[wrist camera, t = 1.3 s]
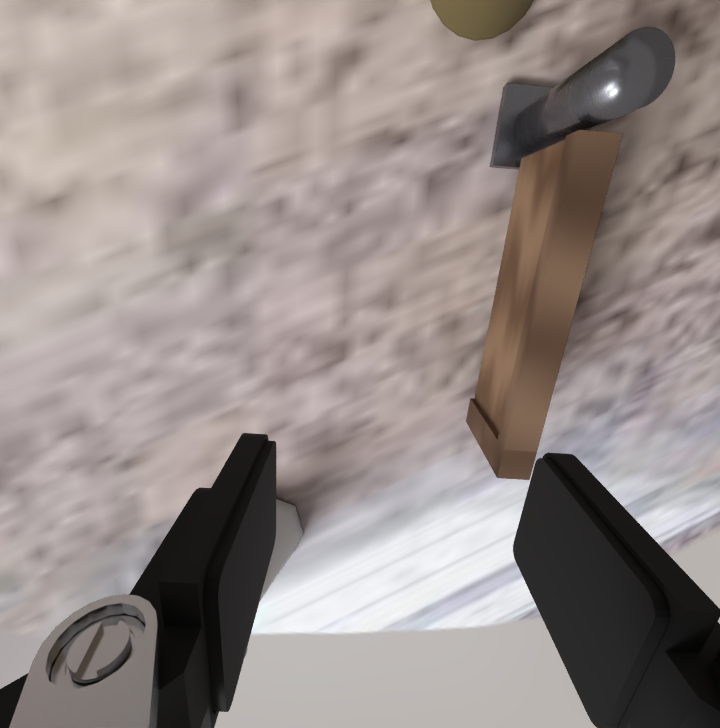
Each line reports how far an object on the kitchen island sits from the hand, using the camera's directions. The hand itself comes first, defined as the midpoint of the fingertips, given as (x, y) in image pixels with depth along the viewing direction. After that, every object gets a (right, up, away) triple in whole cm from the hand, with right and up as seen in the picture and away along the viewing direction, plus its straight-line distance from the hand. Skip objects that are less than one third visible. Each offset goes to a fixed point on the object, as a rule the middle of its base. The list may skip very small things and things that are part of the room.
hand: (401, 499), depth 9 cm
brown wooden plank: (+8, +7, +15) cm, 19 cm away
